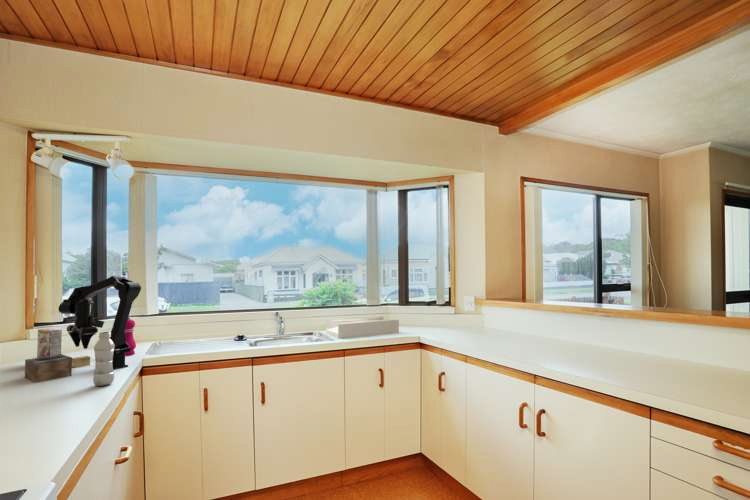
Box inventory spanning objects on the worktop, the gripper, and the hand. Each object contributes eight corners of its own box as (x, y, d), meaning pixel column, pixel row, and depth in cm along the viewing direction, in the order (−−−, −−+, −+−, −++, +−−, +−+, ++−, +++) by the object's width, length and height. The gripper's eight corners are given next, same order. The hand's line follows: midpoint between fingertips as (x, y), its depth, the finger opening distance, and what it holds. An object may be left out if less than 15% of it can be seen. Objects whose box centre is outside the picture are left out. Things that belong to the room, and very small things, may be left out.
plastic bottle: (118, 383, 149) (119, 331, 150) (100, 388, 142) (102, 334, 143) (106, 382, 151) (107, 330, 152) (88, 387, 144) (90, 333, 145)
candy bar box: (35, 364, 181) (37, 329, 182) (48, 362, 186) (49, 327, 187) (48, 366, 177) (50, 330, 178) (61, 364, 181) (62, 329, 182)
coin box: (60, 371, 167) (61, 354, 168) (71, 375, 161) (71, 357, 161) (24, 378, 157) (25, 359, 158) (34, 382, 151) (35, 363, 151)
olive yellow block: (86, 364, 181) (86, 355, 181) (90, 365, 179) (90, 356, 179) (71, 367, 176) (71, 358, 176) (74, 368, 174) (74, 359, 174)
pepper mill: (127, 356, 196) (128, 317, 197) (115, 356, 198) (117, 317, 199) (139, 353, 203) (140, 315, 205) (127, 353, 205) (128, 315, 206)
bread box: (338, 339, 245) (338, 324, 245) (326, 334, 264) (326, 320, 265) (398, 333, 265) (398, 319, 266) (383, 329, 285) (383, 316, 286)
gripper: (110, 313, 181) (110, 346, 180) (94, 311, 191) (93, 343, 190) (82, 315, 171) (81, 351, 170) (66, 313, 182) (65, 346, 181)
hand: (81, 347), depth 178 cm, fingers open, 9 cm apart
